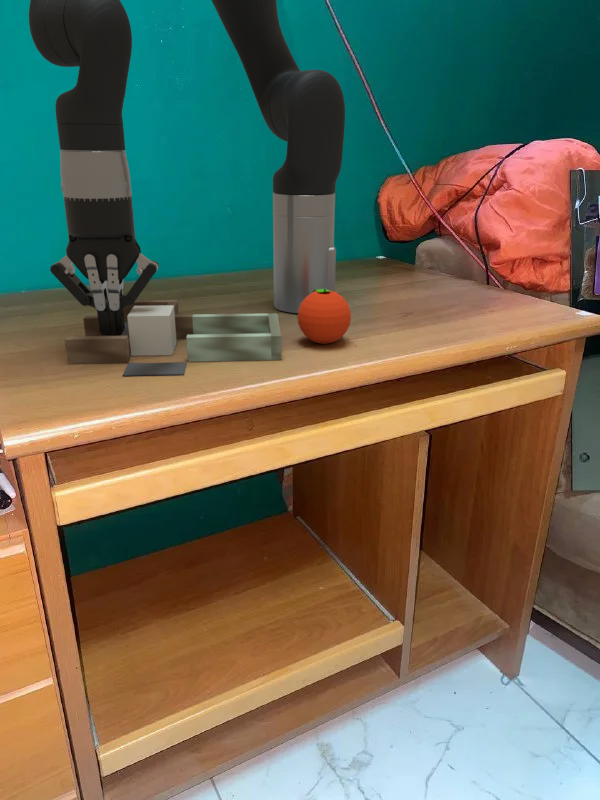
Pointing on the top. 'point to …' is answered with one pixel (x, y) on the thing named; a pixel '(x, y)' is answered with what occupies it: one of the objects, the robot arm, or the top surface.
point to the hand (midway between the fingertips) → (112, 337)
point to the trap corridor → (203, 333)
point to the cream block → (152, 330)
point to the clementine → (324, 316)
